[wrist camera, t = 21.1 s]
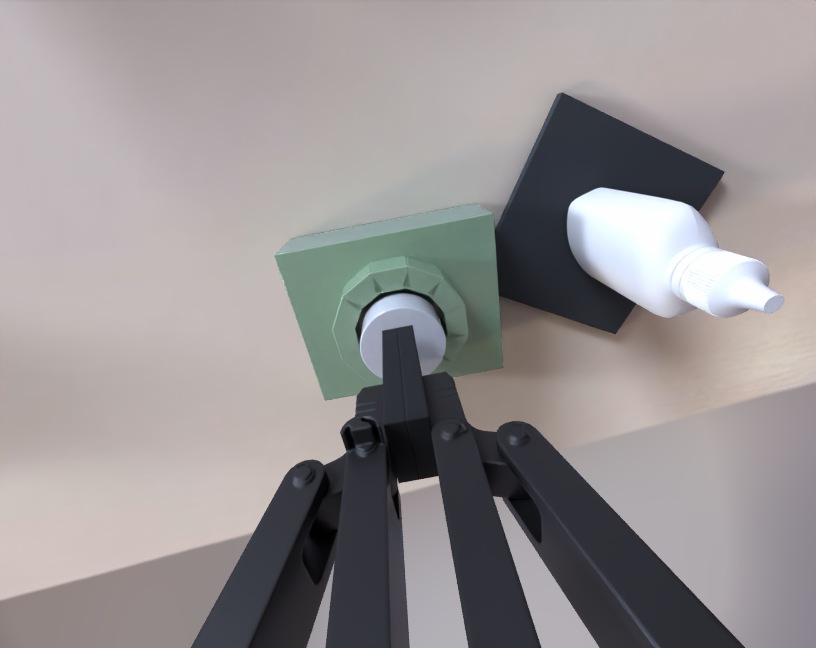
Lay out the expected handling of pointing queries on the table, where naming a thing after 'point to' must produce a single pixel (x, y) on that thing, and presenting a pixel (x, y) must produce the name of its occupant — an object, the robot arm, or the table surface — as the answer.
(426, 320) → the grey round button
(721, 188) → the table surface
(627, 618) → the robot arm
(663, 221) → the eye dropper bottle
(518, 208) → the mat
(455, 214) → the green button base
